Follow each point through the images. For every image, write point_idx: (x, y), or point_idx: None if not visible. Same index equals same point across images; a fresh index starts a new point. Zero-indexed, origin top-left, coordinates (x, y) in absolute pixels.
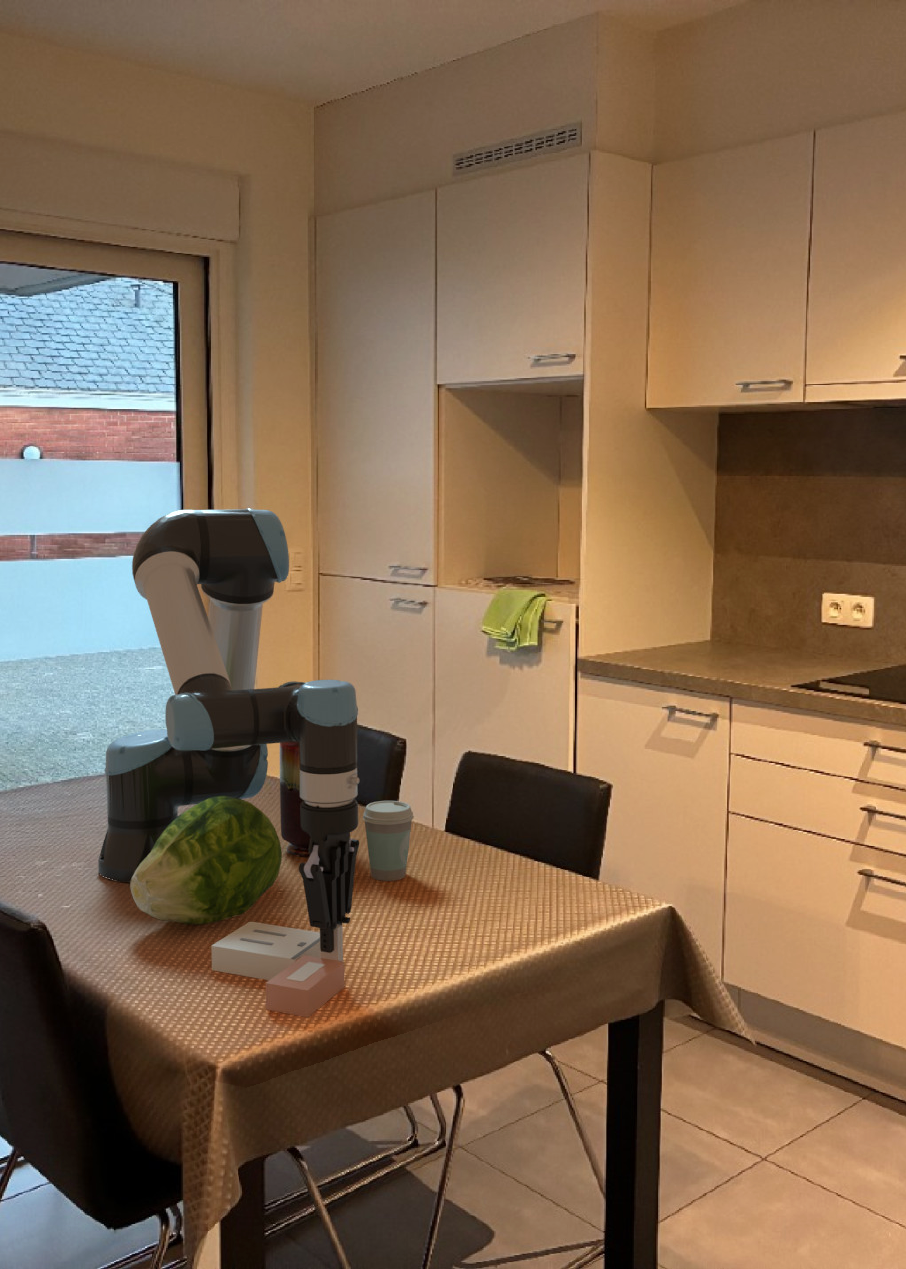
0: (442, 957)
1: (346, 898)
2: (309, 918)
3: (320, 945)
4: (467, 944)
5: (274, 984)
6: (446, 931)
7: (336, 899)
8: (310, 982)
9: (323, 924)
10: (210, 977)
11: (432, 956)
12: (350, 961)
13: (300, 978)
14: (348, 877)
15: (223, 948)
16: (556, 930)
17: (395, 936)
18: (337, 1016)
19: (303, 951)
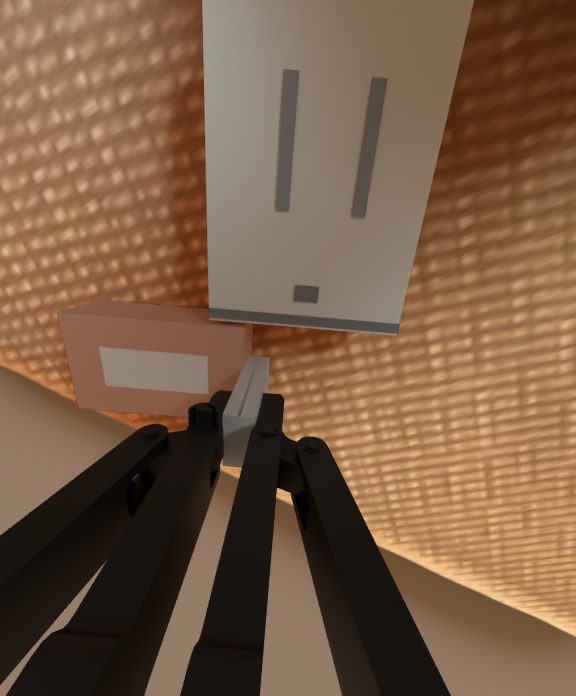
0: (419, 490)
1: (300, 526)
2: (116, 447)
3: (210, 399)
4: (483, 508)
5: (63, 334)
6: (548, 468)
7: (191, 555)
8: (113, 399)
9: (137, 477)
10: (183, 66)
11: (421, 477)
12: (370, 361)
13: (116, 376)
14: (329, 629)
15: (205, 45)
16: (552, 591)
17: (518, 397)
18: (142, 420)
19: (260, 319)
